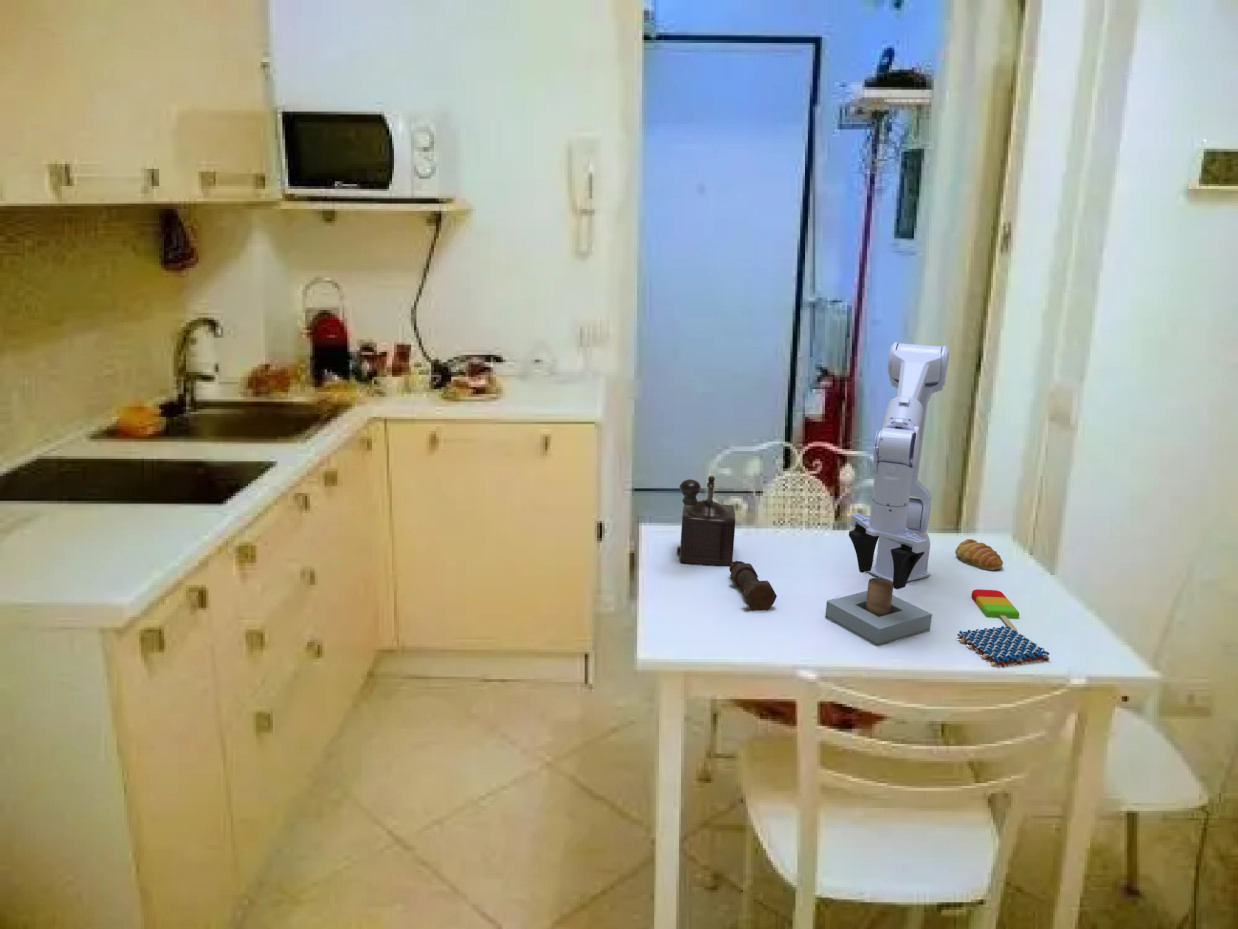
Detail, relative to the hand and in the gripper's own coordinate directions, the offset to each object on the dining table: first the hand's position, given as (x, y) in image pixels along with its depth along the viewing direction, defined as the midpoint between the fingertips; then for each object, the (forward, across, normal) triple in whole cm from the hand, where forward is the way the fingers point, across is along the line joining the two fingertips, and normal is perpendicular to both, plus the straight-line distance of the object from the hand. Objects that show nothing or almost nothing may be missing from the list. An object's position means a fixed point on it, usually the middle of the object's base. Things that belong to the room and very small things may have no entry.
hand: (881, 579), depth 150 cm
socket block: (+8, 0, 0) cm, 8 cm away
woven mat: (+9, +16, +11) cm, 21 cm away
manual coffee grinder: (+8, -37, -9) cm, 39 cm away
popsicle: (+9, +7, +22) cm, 25 cm away
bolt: (+8, -20, -11) cm, 25 cm away
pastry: (+9, -11, +39) cm, 42 cm away
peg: (+8, 0, 0) cm, 8 cm away
